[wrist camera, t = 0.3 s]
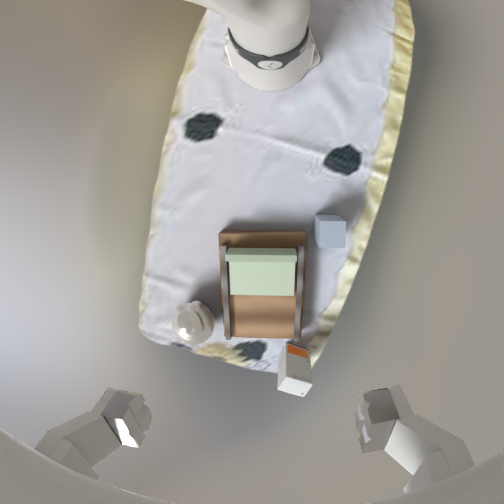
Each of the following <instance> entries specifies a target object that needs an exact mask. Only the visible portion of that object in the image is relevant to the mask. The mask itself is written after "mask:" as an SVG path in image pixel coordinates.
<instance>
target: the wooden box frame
mask: <svg viewBox="0 0 504 504" xmlns="http://www.w3.org/2000/svg"><path fill="white" fill-rule="evenodd" d="M218 235H219V257H220V276H221V293H222V308H223V323H224V336H226V340H231V337H249V338H293V339H294V342H299V338H301V327H302V314H303V300H304V283H305V264H306V239H307V234H306V232H305V231H221V232H220V233H219V234H218ZM229 248H294V249H296V253H297V262H295V282H294V296H268V295H231V293H230V271H229V262H228V261H225V254H226V252H227V251H228V249H229Z"/></svg>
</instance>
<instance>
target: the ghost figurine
mask: <svg viewBox="0 0 504 504" xmlns="http://www.w3.org/2000/svg"><path fill="white" fill-rule="evenodd" d="M172 326H173V330H174V332H175V334H176V335H177V337H178V338H179V339H181V340H182V341H184V342H186V343H188V344H200V343H202V342H204V341H206V340H207V339H208V338H209V337H210V336H211V335H212V333H213V331H214V326H215V321H214V317H213V314H212V312H211V311H210V310H209V309H208V308H207V307H206V306H205V305H203V304H202V303H201V302H200V301H193V302H192V303H184V302H182V303H179V304H178V305H177V306H176V311H175V313H174V315H173V319H172Z"/></svg>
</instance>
